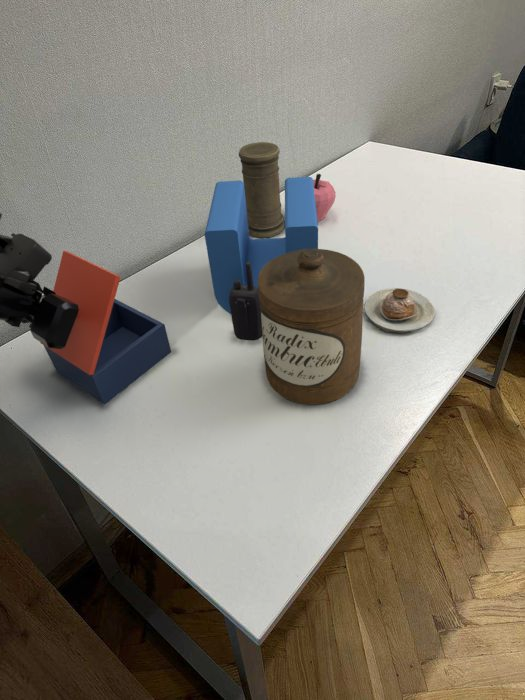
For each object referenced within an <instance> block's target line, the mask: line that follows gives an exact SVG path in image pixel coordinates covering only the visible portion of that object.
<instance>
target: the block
mask: <svg viewBox="0 0 525 700" xmlns="http://www.w3.org/2000/svg"><path fill="white" fill-rule="evenodd" d="M313 180H314V178H313V177H312V176H297V177H287V178H285V179H284V237H273V238H272V237H269V238H251V237H250V234H249V230H248V220H247V210H246V200H245V189H244V182H243V181H242V180H225V181H224V180H221V181H217V182H215V186H214V190H213V194H212V198H211V203H210V208H209V212H208V216H207V217H208V218H207V222H206V226H205V231H204V240H205V241H204V242H205V245H206V246H205V247H206V251H207V259H208V265H209V270H210V276H211V283H212V288H213V294H214V297H215V300H216V303H218V305H219V306H220V308H222V310H223V311H225V312H227V313H228V314H230V315H231V310H230V305H229V294H230V290H231V289H232V287H233V284H234V280H239V281H240V284H241V285H247V276H246V262H250V263H251V270H252V277H253V286H256V287H257V288H258V276H259V273H260V271H261V270H262V268H263V267H264V266H265V265H266V264H267V263H268V262H269V261H271V260H272V259H274V258H276V257H278V256H280V255H283V254H285V253H288V252H292V251H297V250H303V249H319V225H318V221H317V213H316V204H315V194H314V184H313Z"/></svg>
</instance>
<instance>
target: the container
mask: <svg viewBox="0 0 525 700" xmlns="http://www.w3.org/2000/svg"><path fill="white" fill-rule="evenodd" d="M280 153H281V150H280V148H279V146H278V145H277V144H275V143H273V142H268V141H257V142H252V143H248V144H245V145H242V146H241V147H240V148H239V150H238V158H239V160H240V163H241V174H242V180H243V183H244V189H245V200H246V210H247V220H248V230H249V236H252V237H255V238H259V239H268V238H272V237H274V236H277V235H279V234H281V233H282V232H283V230H284V229H285V220H284V215H283V213H282V202H281V193H280V192H281V191H280V173H279V171H280V166H279V158H280V157H279V155H280Z"/></svg>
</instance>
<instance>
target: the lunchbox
mask: <svg viewBox="0 0 525 700" xmlns="http://www.w3.org/2000/svg"><path fill="white" fill-rule="evenodd" d="M165 325H166V324H165V323H163V322H161V321H160V320H158V319H156V318H154V317H152V316H150V315H147V314H146V313H144V312H142V311H140V310H138V309H136V308H134V307H132V306H130V305H128V304H126V303H124V302H122V301H120V300H118V299H117V298H115V299H114V303H113V306H112V310H111V314H110V317H109V321H108V324H107V328H106V332H105V335H104V339H103V342H102V346H101V350H100V353H99V357H98V360H97V364H96V368H95V371H94V375H89V374H87V373H86V372H84V371H83V370H81V369H80V368H78V367H77V366H75V365H73V364H72V363H70V362H69V361H67V360H66V359H64V358H63V357H61V356H60V355H58V354H57V353H55V352H54V351H52V350H51V349H49V348H47V347H46V346H44V345H43V347H44V349H45V351H46V354H47V355H48V357H49V359H50V361H51V363H52V366H53V368H54V370H55V372H56V373H57V374H58V375H59V376H61V377H63V378H64V379H65V380H67V381H68V382H70V384H72V385H74V386H75V387H77V388H78V389H80V390H82V391H83V392H84V393H86V394H87V395H89V397H92V398H93V399H95V400H96V401H98V402H99V403H100V404H102V405H103V406H105V405H107V404H108V403H109V402H111V400H113V399H115V397H117V396H118V395H120V393H122V392H123V391H125V390H126V389H127V388H128V387H130V386H131V385H132V384H133V383H135V382H136V381H137V380H138V379H140V378H141V377H142V376H143V375H145V374H146V373H147V372H149V370H151V369H152V368H154V367H155V366H156V365H157V364H158V363H160V362H161V361H163V359H165V358H166V357H167V356H169V355H170V354H171V353H172V349H171V345H170V341H169V337H168V333H167V330H166V326H165Z"/></svg>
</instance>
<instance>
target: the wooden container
mask: <svg viewBox="0 0 525 700" xmlns="http://www.w3.org/2000/svg"><path fill="white" fill-rule="evenodd" d="M365 282H366V279H365V273H364V270H363V269H362V267H361V265H360V264H359V263H358V262H357V261H356V260H355V259H353V258H351V257H350V256H348V255H346V254H344V253H341V252H338V251H335V250H330V249H324V248H318V249H303V250H297V251H292V252H288V253H285V254H283V255H280V256H278V257H276V258H274V259H272V260H271V261H269V262H268V263H267V264H266V265H265V266H264V267H263V268H262V270H261V271H260V273H259V276H258V293H259V300H260V305H261V319H262V337H261V338H262V348H263V349H262V350H263V356H264V368H265V375H266V379H267V382H268V384H269V386H270V387H271V388H272V389H273V390H274V391H275V392H276V393H277V394H278V395H279V396H281V397H282V398H284V399H286V400H289V401H291V402H293V403H298V404H304V405H321V404H322V405H323V404H327V403H331V402H334V401H336V400H339V399H341V398H343V397H344V396H346V395H347V394H349V393H350V391H351V390H352V389H353V388H354V387H355V386H356V384H357V382H358V380H359V377H360V376H359V375H360V366H361V356H362V343H363V321H364V320H363V319H364V318H363V316H364V297H365Z"/></svg>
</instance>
